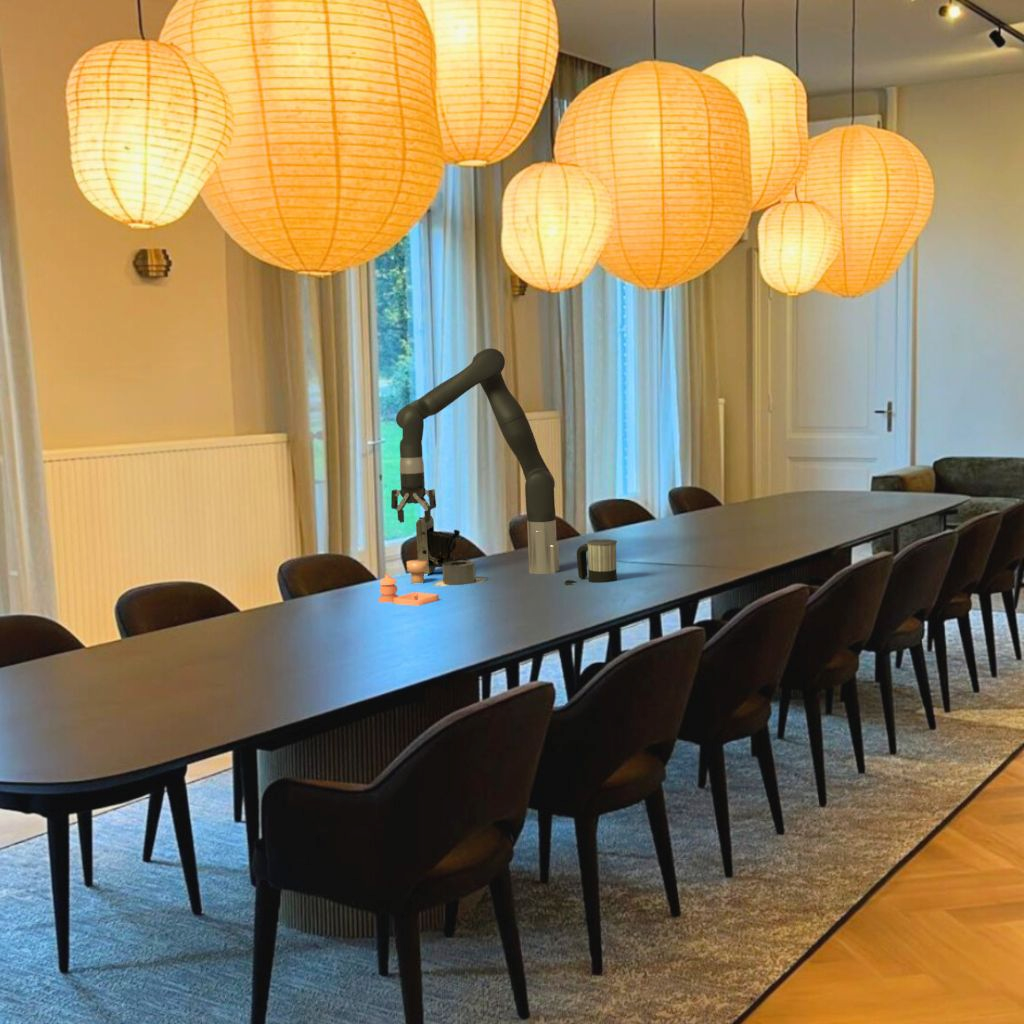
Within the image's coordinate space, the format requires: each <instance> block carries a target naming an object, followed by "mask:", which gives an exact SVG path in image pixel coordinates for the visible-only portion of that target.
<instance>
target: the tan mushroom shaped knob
mask: <svg viewBox="0 0 1024 1024" xmlns="http://www.w3.org/2000/svg"><path fill="white" fill-rule="evenodd" d="M425 571H427V560H418V559H412V560H411V559H410V560H407V561H406V572H407V573H410V576H411V577H410V578H411V583H410V584H412V583H422V582H424V583H425V576H424V572H425ZM422 584H423V583H422Z"/></svg>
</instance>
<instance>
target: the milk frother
mask: <svg viewBox="0 0 1024 1024" xmlns="http://www.w3.org/2000/svg"><path fill="white" fill-rule="evenodd" d="M617 543H618V541H617V540H616V539H611V538H602V539H601V538H600V539H599V538H597V539H589V540H588V541H586V543H584V544H582V545H580V546H579V547H578V548H577V550H576V559H577V560H576V563H577V573H578V578H579V579H582V580H583V579H586V578H587V577H588V582H589V583H598V584H601V583H612V582H616V581H617V579H618V576H617ZM587 558H588V559H587ZM587 565H588V566H587ZM574 583H577V581H575V580H571V579H568V580H565V581H564V585H565V586H575V584H574Z"/></svg>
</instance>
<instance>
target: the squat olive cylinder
mask: <svg viewBox="0 0 1024 1024" xmlns="http://www.w3.org/2000/svg"><path fill="white" fill-rule="evenodd" d="M441 568H442V580H443V583H444V584H447V585H450V586H462V585H463V586H464V584H465V585H471V584H475V583H477V582H476V578H477V575H476V574H477V572H476V562H475V561H473V560H469V561H464V560H459V561H450V562H445V563H443V564H442V567H441ZM474 582H475V583H474Z"/></svg>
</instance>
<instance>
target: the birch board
mask: <svg viewBox="0 0 1024 1024" xmlns="http://www.w3.org/2000/svg"><path fill="white" fill-rule="evenodd" d="M487 580H488V578H487V577H476V582H474V583H473V584H475V583H481V582H485V581H487ZM433 585H435V586H433ZM438 585H441V586H440V587H449V586H451V585H447V584H444V583H443V579H441V580H439V581H437V582H436V583H434V584H432V585H431V587H439V586H438Z"/></svg>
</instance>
